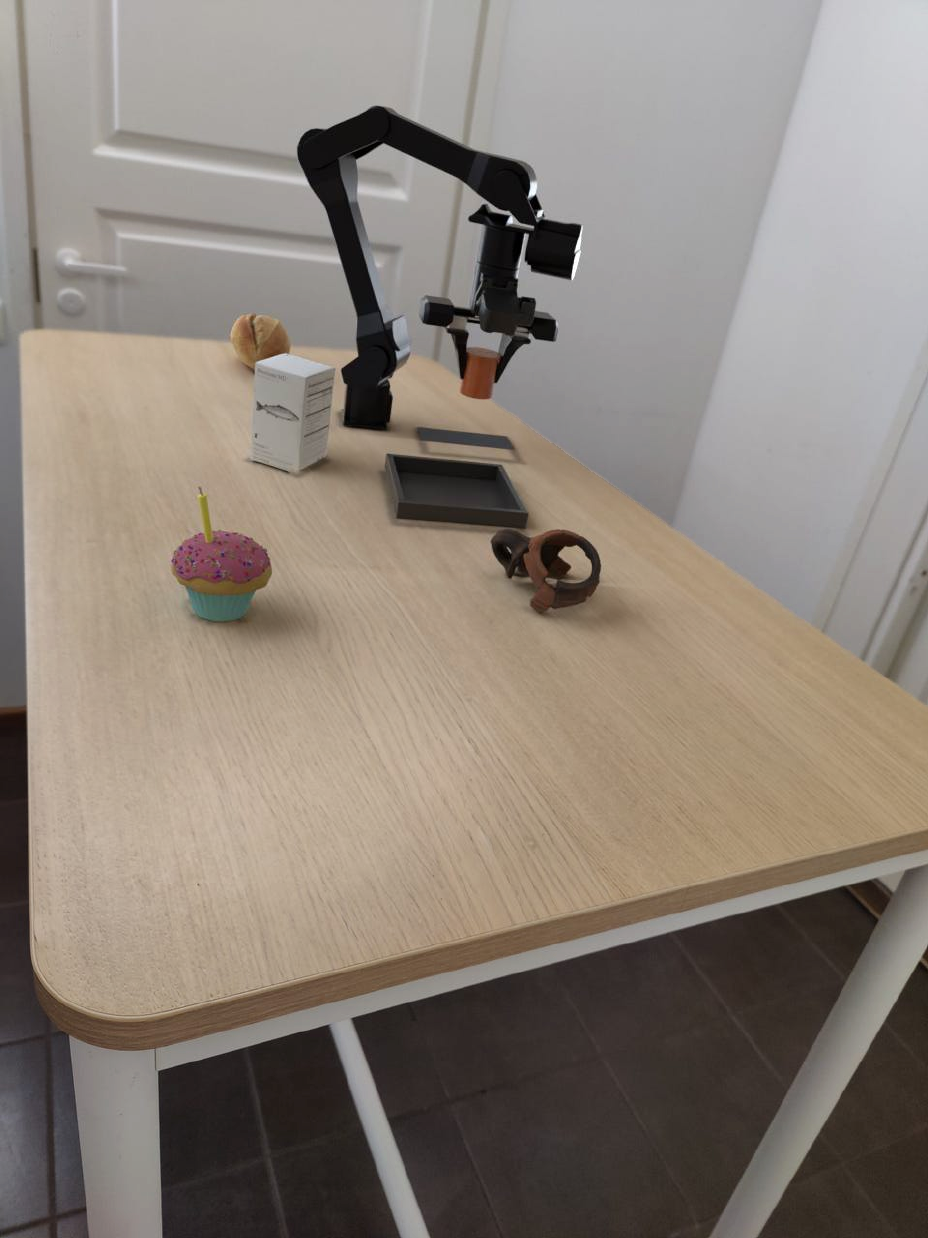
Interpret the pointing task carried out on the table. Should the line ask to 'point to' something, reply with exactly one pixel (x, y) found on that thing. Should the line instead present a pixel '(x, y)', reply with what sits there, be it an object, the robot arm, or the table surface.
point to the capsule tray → (453, 492)
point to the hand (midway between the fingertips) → (477, 380)
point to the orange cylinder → (479, 373)
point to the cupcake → (220, 570)
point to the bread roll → (259, 338)
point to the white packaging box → (291, 411)
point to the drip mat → (464, 438)
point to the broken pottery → (547, 565)
